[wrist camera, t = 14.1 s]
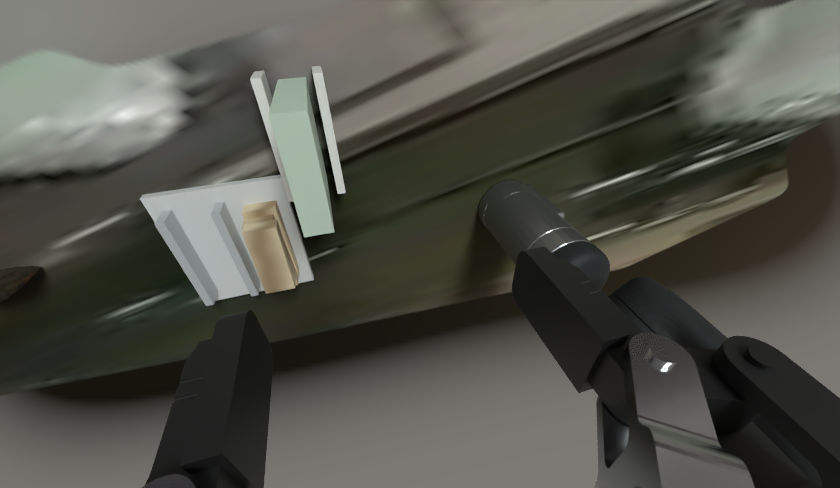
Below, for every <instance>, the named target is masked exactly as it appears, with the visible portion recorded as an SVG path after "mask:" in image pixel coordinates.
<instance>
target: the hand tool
mask: <svg viewBox="0 0 840 488" xmlns="http://www.w3.org/2000/svg"><path fill="white" fill-rule="evenodd" d="M40 268H41V267H37V266H36V267H35V266H28V267H14V268H8V269H5V270H0V302H2V301H4V300H6V299H8V298H10V297H11V296H12V295H14V294H15V293H16V292H17V290H19V289H20V288H21V287H23V286H24V285H25V284H26V283H27V282H28V281H29V280H30V279H31V278H32V277H33V276H34V275H35V274H36V273H37V272H38V271H39V270H40Z"/></svg>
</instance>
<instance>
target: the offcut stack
mask: <svg viewBox="0 0 840 488" xmlns="http://www.w3.org/2000/svg"><path fill="white" fill-rule="evenodd" d="M242 215H243V217H244V221H243V225H242V235H243V238H244V240H245V243H246V245H247V248H248V250H249V253H250V255H251V258H252V260H253V263H254V265H255V268H256V270H257V273H258V275H259V278H260V280H261V283H262V285H263V288H264V290H265V293H266V294H267V293H273V292H278V291H283V290H289V289H294V288H295V286H296V285H298V277H299V265H298V262H297V259H296V257H295V254H294V251H293V248H292V245H291V242H290V239H289V236H288V233H287V230H286V227H285V225H284V222H283V219H282V216H281V213H280V210H279V207H278V204H277V201H276V200H275V201H268V202H262V203H256V204H250V205H244V207H243V211H242Z"/></svg>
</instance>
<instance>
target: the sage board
mask: <svg viewBox="0 0 840 488" xmlns="http://www.w3.org/2000/svg"><path fill="white" fill-rule="evenodd" d="M268 115H269V119H270V122H271V126H272V129H273V132H274V136H275V139H276V143H277V146H278V150H279V153H280V156H281V160H282V163H283V167H284V170H285V173H286V177H287V180H288V184H289V187H290V191H291V194H292V197H293V201H294V204H295V208H296V211H297V214H298V218H299V221H300V225H301V228H302V231H303V235H304V237H310V236H315V235H321V234H327V233H333V232H334V225H333V218H332V211H331V203H330V196H329V189H328V182H327V175H326V170H325V165H324V160H323V156H322V151H321V146H320V141H319V137H318V132H317V127H316V123H315V118H314V113H313V108H312V104H311V99H310V94H309V89H308V85H307V80H306V77H303V78H290V79H278V82H277V85H276V89H275V92H274V96H273V99H272V103H271V107H270V110H269V114H268Z"/></svg>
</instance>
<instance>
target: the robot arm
mask: <svg viewBox="0 0 840 488" xmlns="http://www.w3.org/2000/svg"><path fill="white" fill-rule="evenodd" d="M478 211H479V218H480V220H481V221H482V223H483V224H484V226H485V227H486V228H487V229H488V230H489V232H490V233H491V234H492V236H493V237H494V238H495V239H496V241H497V242H498V243H499V244H500V246H501V247H502V248H503V249H504V251H505V252H506V253H507V254H508V256H509V257H510V258H511V260H512V261H513V262H514V263H515V265H516V267H515V273H514V278H513V283H512V292H513V296H514V299H515V301H516V303H517V305H518V306H519V308H520V309H521V311H522V312H523V314H524V315H525V316H526V318H527V319H528V321H529V322H530V324H531V325H532V326H533V328H534V329H535V331H536V332H537V333H538V335H539V336H540V338H541V339H542V341H543V342H544V344H545V345H546V347H547V348H548V349H549V351H550V352H551V354H552V355H553V357H554V358H555V360H556V361H557V362H558V364H559V365H560V367H561V368H562V370H563V371H564V372H565V374H566V375H567V377H568V378H569V380H570V381H571V382H572V384H573V385H574V387H575V388H576V390H577V391H578V392H579V393H580V392H583V391H586V390H589V389H594V390H595V392H596V393H597V394H598V397H597V403H596V407H597V440H598V477H597V481H596V485H595V488H840V398H839V397H837V396H836V395H835V394H834V393H832V392H831V391H830V390H828V389H827V388H826V387H825V386H823V385H822V384H821V383H820V382H818V381H817V380H816V379H815V378H813V377H812V376H810V375H809V374H808V373H807V372H806V371H805V370H803V369H802V368H801V367H799V366H798V365H797V364H796V363H794V362H793V361H792V360H791V359H789V358H788V357H787V356H786V355H784V354H783V353H782V352H780V351H779V350H777V349H776V348H774V347H772V346H771V345H769V344H767V343H764V342H762V341H760V340H757V339H754V338H750V337H745V336H733V337H730V338H727V337H726V336H724V335H723V334H722V333H721V332H720V331H719V330H717V329H716V328H715V327H714V326H713V325H712V324H711V323H710V322H708V321H707V320H706V319H705V318H704V317H703V316H702V315H700V314H699V313H698V312H697V311H696V310H695V309H693V308H692V307H691V306H690V305H689V304H688V303H686V302H685V301H684V300H683V299H682V298H680V297H679V296H678V295H676V294H675V293H674V292H672V291H671V290H669V289H668V288H666V287H665V286H664V285H662V284H660V283H658V282H656V281H655V280H652V279H650V278H646V277H636V278H633V279H632V280H630V281H628V282H627V283H625V284H624V285H623V286H621V287H620V288H618V289H617V290H616V291H615V292H614V294H613V293H612V294H611V295H610V296H608V297H607V296H606V295H605V294H604V293H603V292H601V289H602V288H603V286H604V284H605V282H606V280H607V278H608V275H609V271H610V264H609V260H608V258H607V257H606V255H605V254H604V253H603V252H602V251H601V250H600V249H598V248H597V247H596V246H595V245H594V244H592V243H591V242H590V241H589V240H588V239H586V238H585V237H584V236H583V235H582V234H581V233H579V232H578V231H577V230H576V229H575V228H573V227H572V226H571V225H570V224H569V223H568V222H566V221H565V220H564V213H563V212H562V211H561V210H560V209H559V208H558V207H556V206H555V205H554V204H553V203H552V202H550V201H549V200H548V199H547V198H546V197H544V196H543V195H542V194H541V193H540V192H538V191H537V190H536V189H535V188H534V187H532V186H531V185H524V184H522V183H521V182H519V181H516V180H507V181H503V182H500V183H498V184H496V185H495V186H493V187H492V188H491V189H489V190H488V191H487V193H486V194H485V195H484V197H483V198H482V200H481V202H480V205H479V210H478ZM272 371H273V357H272V350H271V346H270V344H269V342H268V340H267V338H266V336H265V334H264V332H263V330H262V328H261V326H260V324H259V322H258V320H257V318H256V316H255V314H254V313H253V312H252V311H251V310H248V311H244V312H239V313H235V314H230V315H226V316H221V317H219V318H218V320H217V323H216V326H215V330H214V334H213V338H212V339H210V340H205V341H201V342H200V343H199V344H198V345H197V347H196V348H195V349H194V351H193V352H192V354H191V355H190V356H189V358H188V359H187V360H186V362H185V366H184V369H183V372H182V375H181V379H180V385H179V386H178V388H177V391H176V394H175V397H174V399H175V402H174V403H173V404H172V407H171V410H170V413H169V416H168V420H167V423H166V426H165V429H164V432H163V436H162V439H161V442H160V445H159V448H158V451H157V454H156V458H155V461H154V464H153V467H152V470H151V473H150V475H149V478H148V480H147V482H146V484H145V486H144V487H142V488H263V487H264V475H265V462H266V449H267V436H268V423H269V409H270V397H271V384H272Z"/></svg>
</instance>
